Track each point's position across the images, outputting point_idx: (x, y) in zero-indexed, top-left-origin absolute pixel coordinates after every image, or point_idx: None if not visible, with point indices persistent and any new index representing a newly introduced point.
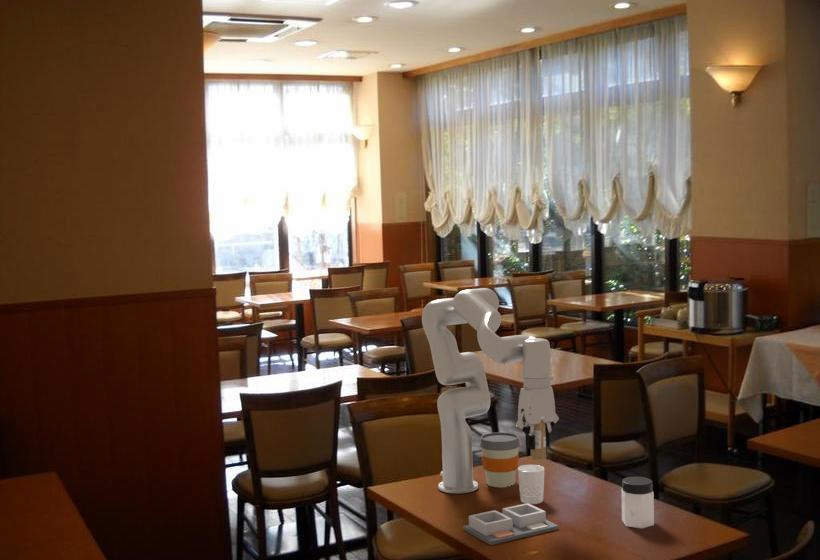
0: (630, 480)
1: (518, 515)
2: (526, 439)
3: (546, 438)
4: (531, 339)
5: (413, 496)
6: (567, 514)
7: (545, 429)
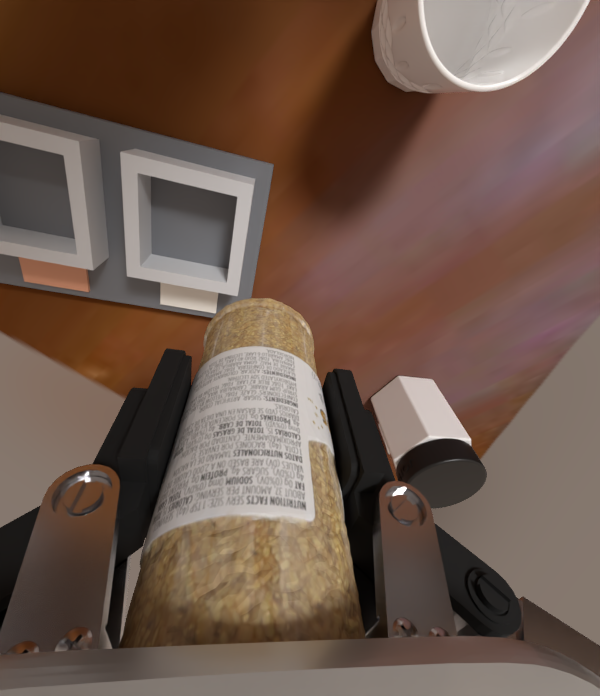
0: (438, 478)
1: (133, 261)
2: (112, 436)
3: None
4: None
5: None
6: (361, 257)
7: (355, 546)
